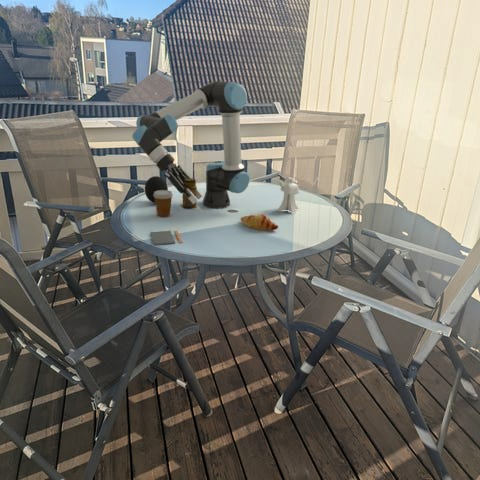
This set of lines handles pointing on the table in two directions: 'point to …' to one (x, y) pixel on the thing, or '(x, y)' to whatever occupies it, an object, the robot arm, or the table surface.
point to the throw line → (178, 237)
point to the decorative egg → (154, 187)
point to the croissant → (258, 222)
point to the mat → (162, 237)
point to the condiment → (191, 185)
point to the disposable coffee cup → (163, 202)
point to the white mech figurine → (289, 194)
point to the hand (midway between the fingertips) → (198, 199)
